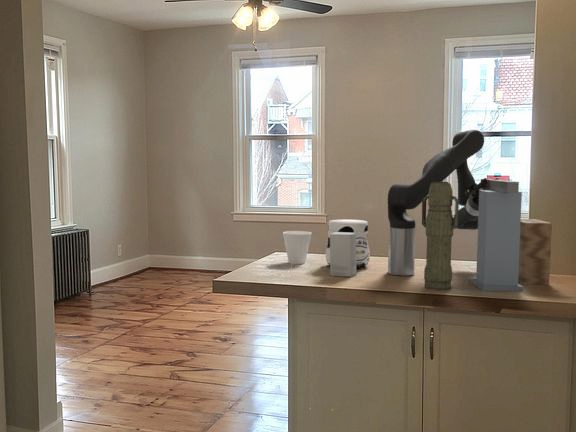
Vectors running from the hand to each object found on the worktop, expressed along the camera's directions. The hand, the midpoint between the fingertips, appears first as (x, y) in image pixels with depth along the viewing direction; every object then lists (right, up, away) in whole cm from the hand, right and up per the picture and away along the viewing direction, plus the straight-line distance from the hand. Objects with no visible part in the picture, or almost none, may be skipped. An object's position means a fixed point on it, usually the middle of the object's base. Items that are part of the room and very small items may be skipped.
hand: (491, 180), depth 208 cm
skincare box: (-50, -34, +13) cm, 62 cm away
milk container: (-47, -32, +31) cm, 65 cm away
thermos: (-20, -36, -7) cm, 42 cm away
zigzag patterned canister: (+15, -35, +6) cm, 38 cm away
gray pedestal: (0, -36, -6) cm, 36 cm away
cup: (-66, -31, +39) cm, 83 cm away
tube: (0, -4, -7) cm, 8 cm away
